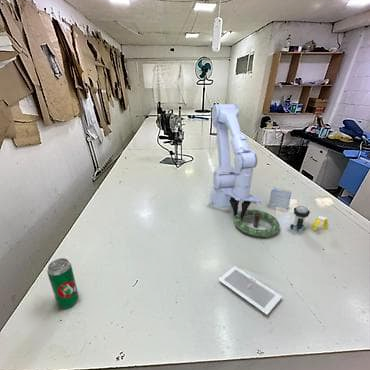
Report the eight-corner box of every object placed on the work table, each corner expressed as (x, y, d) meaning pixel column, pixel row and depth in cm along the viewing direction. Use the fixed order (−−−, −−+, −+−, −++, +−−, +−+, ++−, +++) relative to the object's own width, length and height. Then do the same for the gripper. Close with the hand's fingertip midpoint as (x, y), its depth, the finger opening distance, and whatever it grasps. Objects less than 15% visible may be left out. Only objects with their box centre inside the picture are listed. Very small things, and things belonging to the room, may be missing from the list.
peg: (241, 230, 89) (243, 215, 87) (248, 221, 95) (250, 207, 93) (262, 237, 85) (265, 222, 83) (268, 227, 91) (271, 213, 89)
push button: (300, 226, 93) (306, 203, 89) (310, 233, 88) (317, 210, 84) (286, 228, 91) (291, 205, 87) (295, 236, 86) (301, 212, 82)
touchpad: (266, 318, 56) (267, 311, 55) (217, 282, 66) (218, 276, 65) (281, 299, 61) (283, 293, 60) (234, 268, 71) (234, 263, 70)
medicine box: (288, 207, 106) (292, 190, 103) (286, 212, 103) (290, 194, 99) (270, 203, 110) (273, 186, 107) (268, 207, 107) (271, 189, 103)
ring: (227, 227, 87) (227, 222, 86) (243, 209, 100) (243, 204, 99) (271, 243, 79) (273, 237, 78) (283, 222, 92) (284, 216, 91)
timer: (321, 227, 91) (325, 214, 89) (327, 231, 89) (331, 218, 87) (309, 230, 90) (313, 217, 87) (315, 234, 87) (319, 220, 85)
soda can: (61, 293, 62) (51, 257, 57) (81, 292, 62) (73, 256, 57) (53, 310, 57) (42, 272, 52) (75, 309, 58) (65, 271, 53)
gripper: (220, 183, 87) (217, 214, 93) (258, 192, 80) (253, 226, 86) (227, 177, 93) (225, 207, 98) (264, 185, 86) (259, 218, 91)
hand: (238, 216), depth 93 cm, fingers closed on ring, 2 cm apart
